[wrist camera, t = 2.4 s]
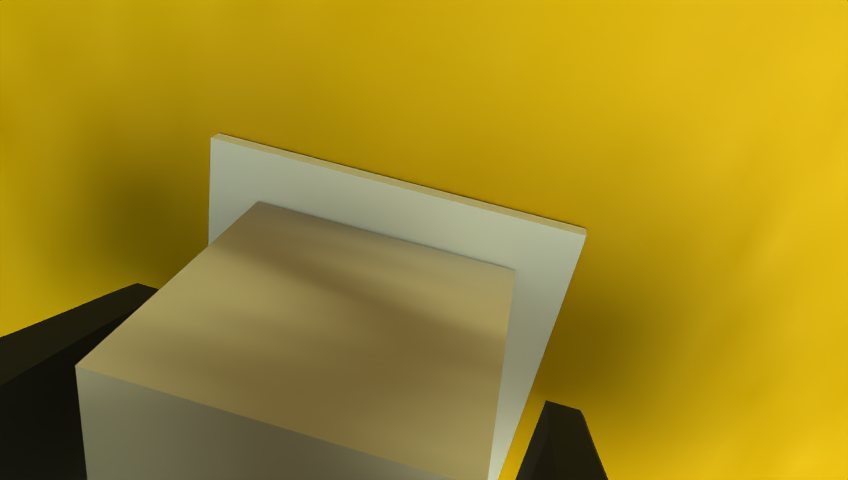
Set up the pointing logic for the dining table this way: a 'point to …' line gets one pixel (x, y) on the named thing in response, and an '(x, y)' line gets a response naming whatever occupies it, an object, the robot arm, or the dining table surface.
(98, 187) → the dining table surface
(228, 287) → the birch block
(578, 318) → the dining table surface
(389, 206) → the code tile
